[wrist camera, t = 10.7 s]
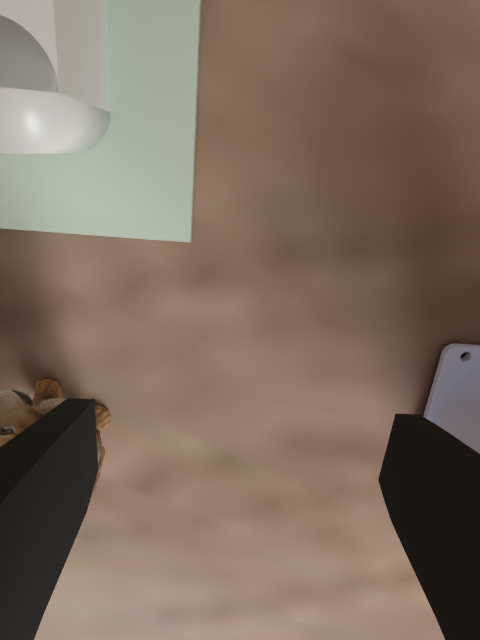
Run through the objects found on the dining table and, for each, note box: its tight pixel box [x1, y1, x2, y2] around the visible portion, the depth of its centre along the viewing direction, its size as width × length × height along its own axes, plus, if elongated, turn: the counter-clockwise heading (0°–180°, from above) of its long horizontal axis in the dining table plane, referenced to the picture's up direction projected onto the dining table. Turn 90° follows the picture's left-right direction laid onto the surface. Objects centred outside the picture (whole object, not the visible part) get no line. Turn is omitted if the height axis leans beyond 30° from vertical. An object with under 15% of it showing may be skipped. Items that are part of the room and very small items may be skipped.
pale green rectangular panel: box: [0, 0, 202, 242], centre depth 15 cm, size 9×12×1 cm
